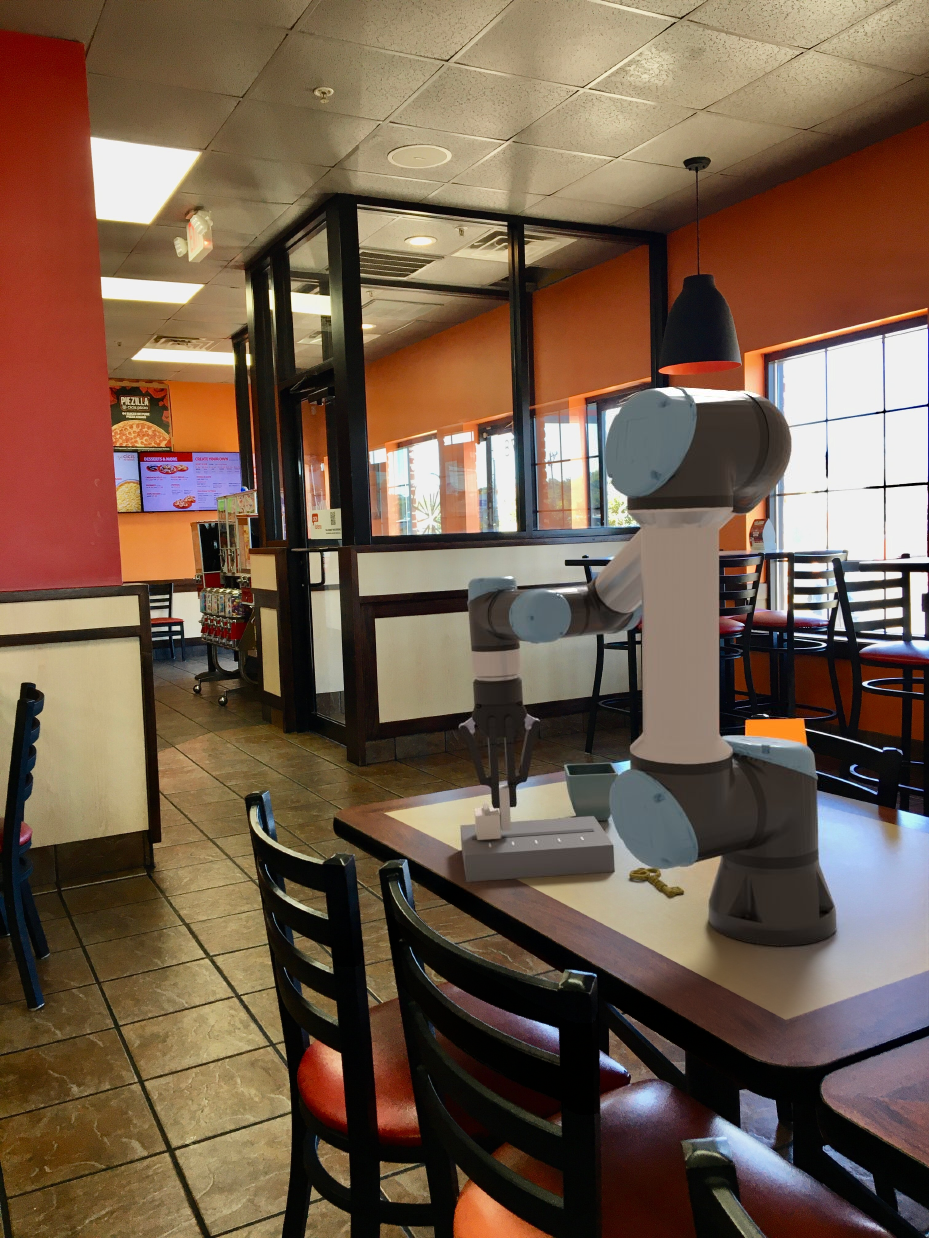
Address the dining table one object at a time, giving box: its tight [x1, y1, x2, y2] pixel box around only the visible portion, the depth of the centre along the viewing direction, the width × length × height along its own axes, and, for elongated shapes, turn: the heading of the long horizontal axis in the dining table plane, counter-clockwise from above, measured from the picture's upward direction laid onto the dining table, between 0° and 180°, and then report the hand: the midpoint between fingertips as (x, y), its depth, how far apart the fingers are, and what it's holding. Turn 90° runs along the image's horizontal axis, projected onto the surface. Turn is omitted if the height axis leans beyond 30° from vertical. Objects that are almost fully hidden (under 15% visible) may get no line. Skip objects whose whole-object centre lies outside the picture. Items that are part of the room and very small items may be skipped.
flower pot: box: [563, 762, 619, 822], centre depth 170 cm, size 9×9×9 cm
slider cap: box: [473, 803, 501, 840], centre depth 148 cm, size 5×4×4 cm
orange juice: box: [744, 718, 808, 746], centre depth 148 cm, size 8×9×20 cm
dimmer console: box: [459, 816, 616, 883], centre depth 149 cm, size 16×22×4 cm
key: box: [628, 867, 685, 898], centre depth 135 cm, size 12×1×5 cm
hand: (505, 827), depth 148 cm, fingers closed
